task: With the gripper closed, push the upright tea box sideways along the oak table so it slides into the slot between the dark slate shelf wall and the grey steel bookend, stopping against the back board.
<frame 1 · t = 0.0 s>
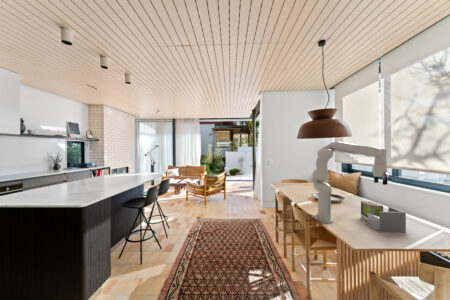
hand: (380, 183, 158), 31 cm above the table, fingers open, 9 cm apart
shelf wall: (385, 227, 145), on the table
tea box: (371, 220, 160), on the table
bookend: (374, 227, 146), on the table
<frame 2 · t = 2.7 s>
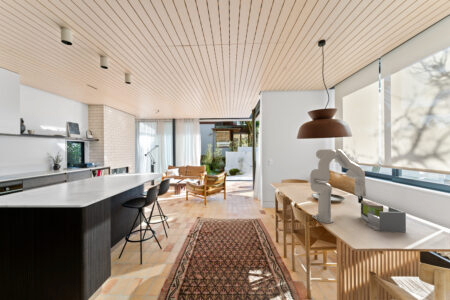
hand: (360, 202, 175), 10 cm above the table, fingers closed
nothing on the table moved.
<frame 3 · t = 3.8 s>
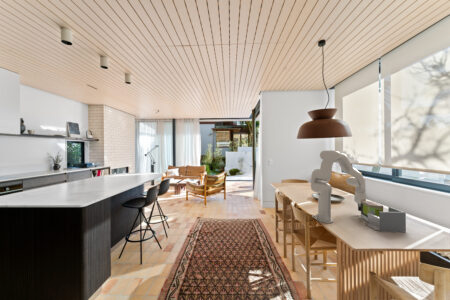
hand: (360, 210, 175), 4 cm above the table, fingers closed
nothing on the table moved.
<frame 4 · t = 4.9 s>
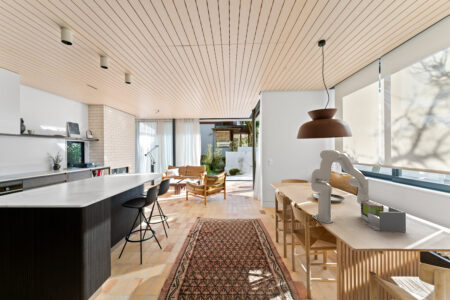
hand: (363, 212, 171), 4 cm above the table, fingers closed
tea box: (371, 220, 160), on the table, touching gripper
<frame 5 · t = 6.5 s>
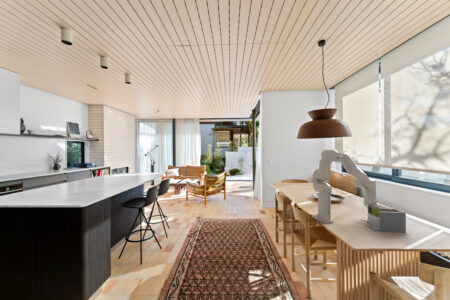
hand: (370, 215, 162), 4 cm above the table, fingers closed
tea box: (380, 225, 151), on the table, touching gripper
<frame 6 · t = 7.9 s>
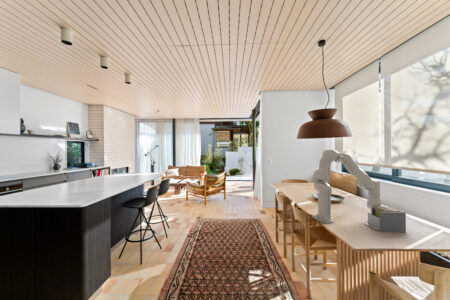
hand: (374, 217, 157), 4 cm above the table, fingers closed
tea box: (385, 227, 146), on the table, touching gripper, shelf wall
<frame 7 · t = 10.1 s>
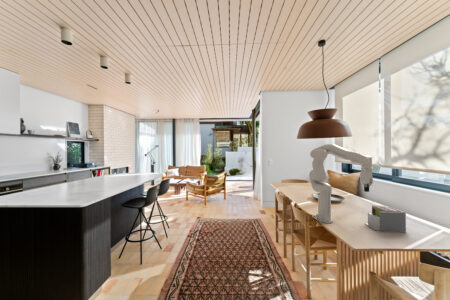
hand: (366, 191, 165), 23 cm above the table, fingers closed
tea box: (385, 227, 146), on the table
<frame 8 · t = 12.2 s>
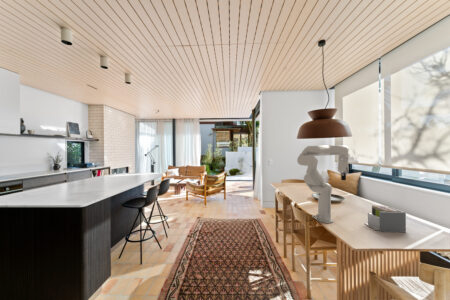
hand: (343, 180, 172), 32 cm above the table, fingers closed
nothing on the table moved.
at the end: tea box inside the target area (0.9 cm from its centre), on the table; tea box tilted 0°; tea box touching table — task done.
